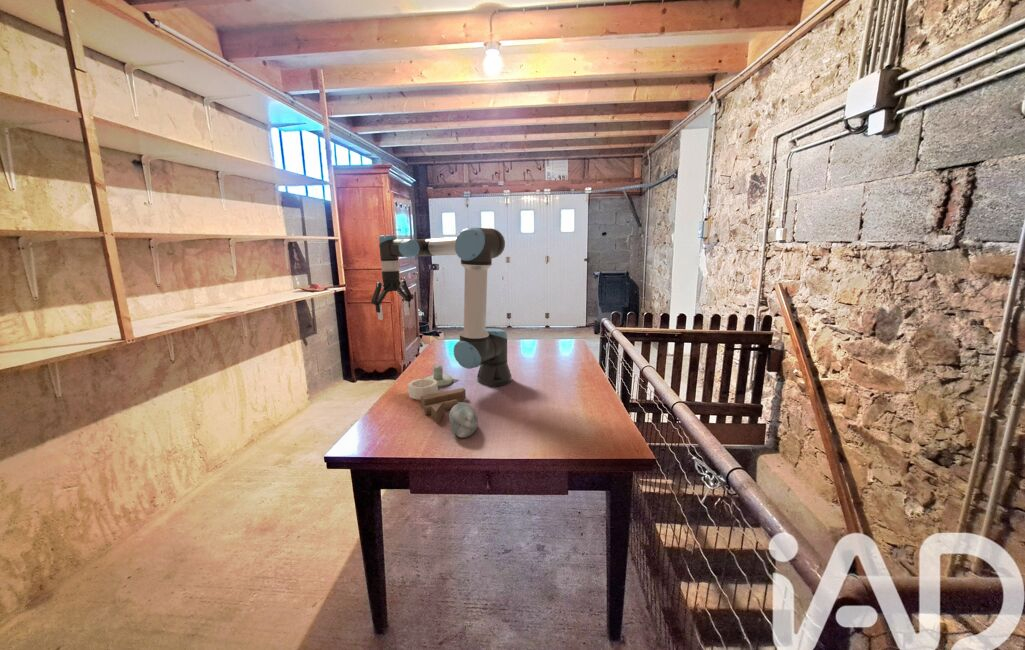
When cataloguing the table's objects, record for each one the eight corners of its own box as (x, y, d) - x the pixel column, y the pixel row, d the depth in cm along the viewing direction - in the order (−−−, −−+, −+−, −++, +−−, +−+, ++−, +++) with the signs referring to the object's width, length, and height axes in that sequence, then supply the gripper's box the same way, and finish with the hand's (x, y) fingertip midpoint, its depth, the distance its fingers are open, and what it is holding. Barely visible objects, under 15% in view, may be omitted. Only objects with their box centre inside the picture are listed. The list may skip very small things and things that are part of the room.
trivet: (459, 381, 169) (459, 380, 169) (439, 390, 158) (439, 389, 158) (437, 376, 176) (437, 375, 175) (416, 385, 165) (416, 384, 165)
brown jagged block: (417, 393, 142) (463, 384, 151) (418, 407, 143) (463, 397, 152) (432, 409, 128) (481, 398, 136) (433, 425, 129) (482, 413, 138)
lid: (458, 380, 168) (457, 365, 167) (439, 389, 159) (438, 373, 157) (437, 375, 175) (436, 361, 173) (418, 383, 165) (417, 368, 163)
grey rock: (444, 412, 130) (456, 390, 126) (470, 421, 133) (483, 400, 129) (441, 440, 118) (455, 417, 114) (469, 450, 120) (484, 427, 117)
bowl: (443, 393, 156) (442, 381, 155) (423, 402, 146) (422, 390, 145) (423, 388, 161) (422, 376, 160) (403, 396, 152) (402, 384, 151)
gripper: (409, 268, 184) (412, 312, 188) (359, 272, 166) (364, 320, 170) (418, 269, 179) (421, 314, 183) (368, 272, 161) (373, 322, 165)
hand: (394, 317), depth 177 cm, fingers open, 13 cm apart
